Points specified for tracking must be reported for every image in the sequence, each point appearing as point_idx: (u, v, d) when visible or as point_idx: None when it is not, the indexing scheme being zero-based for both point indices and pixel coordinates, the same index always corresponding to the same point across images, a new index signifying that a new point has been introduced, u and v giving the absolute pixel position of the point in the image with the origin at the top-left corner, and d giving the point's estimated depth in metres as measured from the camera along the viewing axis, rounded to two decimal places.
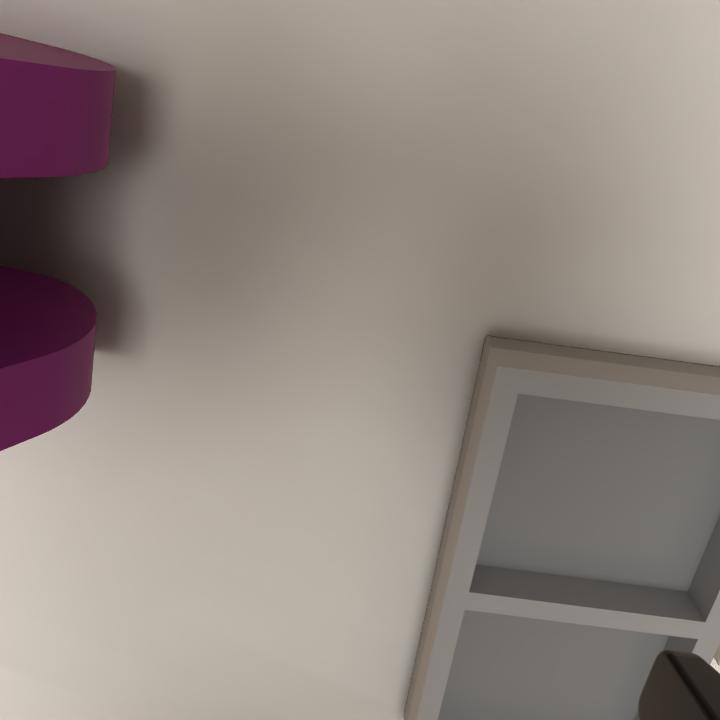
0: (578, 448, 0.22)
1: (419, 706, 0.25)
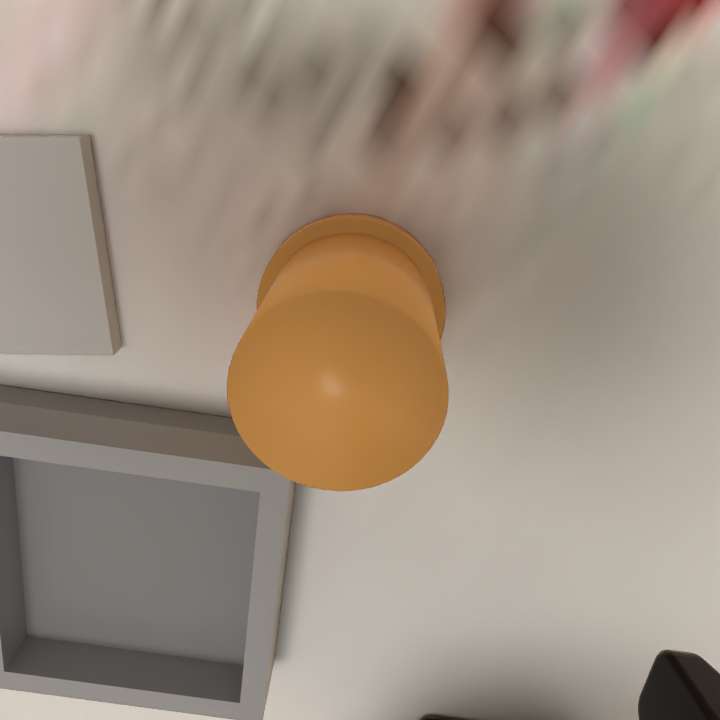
0: None
1: (158, 707, 0.22)
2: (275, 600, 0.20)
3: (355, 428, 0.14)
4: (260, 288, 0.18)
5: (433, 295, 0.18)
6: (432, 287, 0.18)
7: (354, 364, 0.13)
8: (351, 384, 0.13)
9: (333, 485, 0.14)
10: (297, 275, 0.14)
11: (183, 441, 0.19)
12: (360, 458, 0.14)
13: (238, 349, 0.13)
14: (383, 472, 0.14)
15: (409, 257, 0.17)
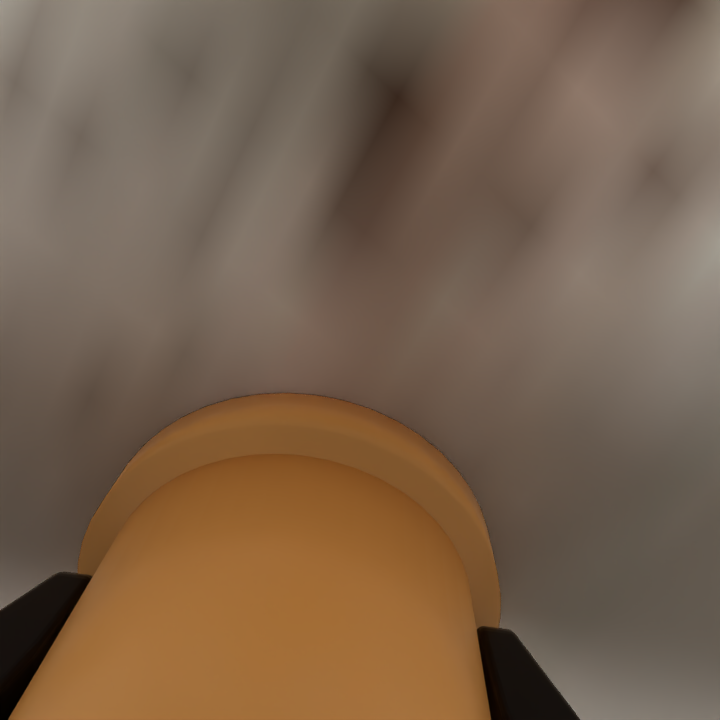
0: None
1: None
2: None
3: None
4: (81, 562, 0.08)
5: (474, 577, 0.08)
6: (472, 563, 0.08)
7: None
8: None
9: None
10: None
11: None
12: None
13: None
14: None
15: (419, 507, 0.07)
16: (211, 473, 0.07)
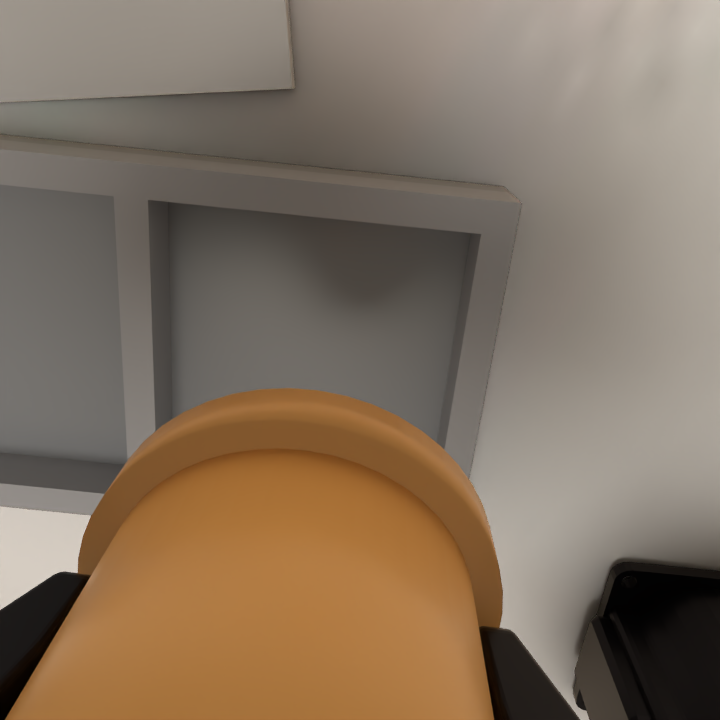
0: None
1: None
2: (485, 385, 0.17)
3: None
4: (81, 558, 0.08)
5: (476, 573, 0.08)
6: (474, 559, 0.08)
7: None
8: None
9: None
10: None
11: (382, 183, 0.16)
12: None
13: None
14: None
15: (420, 502, 0.07)
16: (212, 468, 0.07)
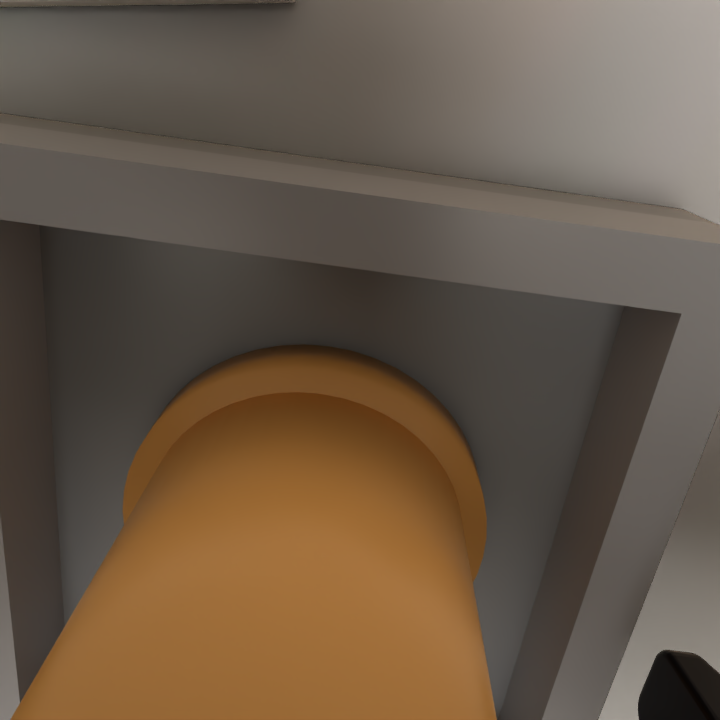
0: None
1: None
2: (644, 592, 0.09)
3: None
4: (126, 490, 0.09)
5: (463, 502, 0.09)
6: (462, 489, 0.09)
7: None
8: None
9: None
10: (135, 587, 0.06)
11: (470, 197, 0.08)
12: None
13: None
14: None
15: (416, 438, 0.09)
16: (241, 407, 0.08)
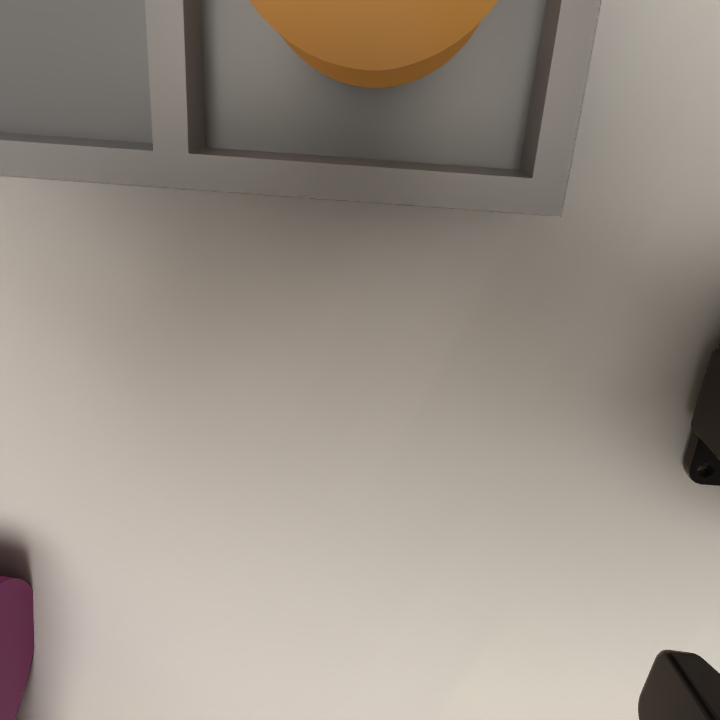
0: None
1: (409, 204, 0.15)
2: None
3: None
4: None
5: None
6: None
7: None
8: None
9: (375, 60, 0.10)
10: None
11: None
12: (412, 6, 0.10)
13: None
14: (446, 27, 0.10)
15: None
16: None
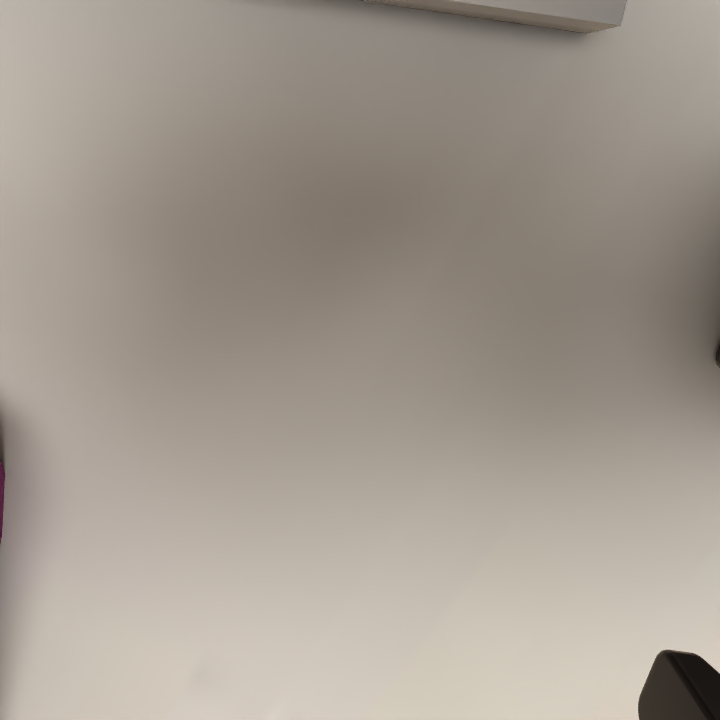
0: None
1: (453, 0, 0.14)
2: None
3: None
4: None
5: None
6: None
7: None
8: None
9: None
10: None
11: None
12: None
13: None
14: None
15: None
16: None
